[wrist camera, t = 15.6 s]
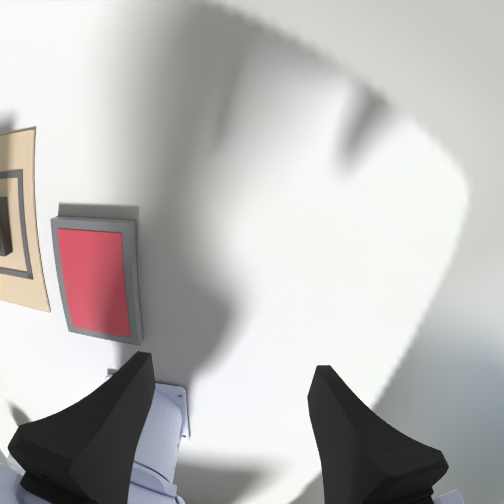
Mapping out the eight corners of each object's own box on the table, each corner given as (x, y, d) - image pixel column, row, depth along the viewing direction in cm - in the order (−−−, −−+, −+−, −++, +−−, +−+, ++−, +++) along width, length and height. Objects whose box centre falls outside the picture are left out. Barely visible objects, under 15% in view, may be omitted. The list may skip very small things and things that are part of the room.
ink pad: (143, 338, 23) (139, 345, 22) (73, 325, 22) (68, 331, 21) (135, 220, 20) (130, 224, 19) (57, 216, 19) (50, 219, 18)
